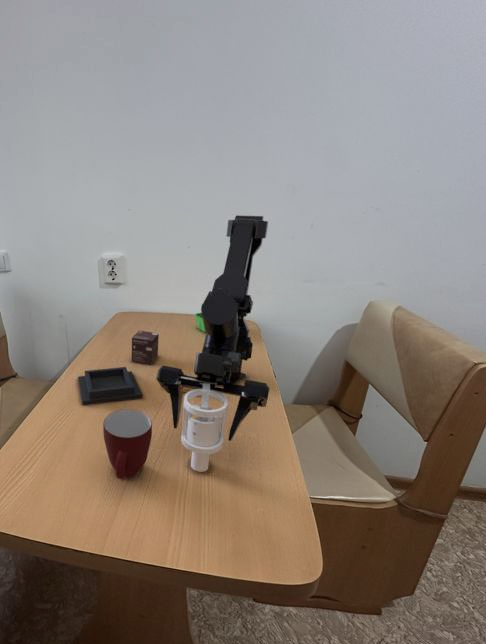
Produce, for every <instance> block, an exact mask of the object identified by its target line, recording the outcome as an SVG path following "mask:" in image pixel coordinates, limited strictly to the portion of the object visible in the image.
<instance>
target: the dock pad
mask: <svg viewBox="0 0 486 644" xmlns="http://www.w3.org/2000/svg"><path fill="white" fill-rule="evenodd" d="M77 380H78V381H77V382H78V387H79V392H80V398H81V404H82V406H85V405H93V404H102V403H113V402H120V401H121V402H122V401H130V400H137V399H143V392H142V391H141V389H140V386H139V383H138V382H137V380H136V377H135V375H134V373H133V371H132V370H129V371H128V368H127V366H121V367H111V368H109V367H108V368H101V369H100V368H99V369H89V370H84V375H80V376H79V375H78V376H77Z"/></svg>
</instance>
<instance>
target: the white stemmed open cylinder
mask: <svg viewBox="0 0 486 644" xmlns="http://www.w3.org/2000/svg"><path fill="white" fill-rule="evenodd" d="M183 396H184V397H183V408H182V411H183V412H182V422H181V423H182V425H181V439H180V440H181V443H182V445H183V446H184V448H185V449H186V450H188V451H190V452H191V459H190V460H191V461H190V467H191V469H192V470H194V471H195V472H197V473H204V472H206V471H207V470H209V464H210V455H212V454H216V453H218V452H220V451H221V450H222V448H223V446H224V441H225V440H224V438H225V430H226V423H227V416H228V415H227V414H228V406H229V400H228V398H227V396H225V394H224V393H220V392H217V391H215V390H211V389H210V384H207V383H203V389H194V390H191V391H189V392H187V393H186V392H185V394H184V395H183ZM195 397H201V400H200V401H201V403H200V404H201V405H200V404H192V403H190V402H189V400H190V399H192V398H195ZM210 398H214V399H216V400H218V401H220V402H222V406H221V407H219V408H216V409H214V408H212V407H209V403H210V402H209V401H210ZM193 416H196V418H195V417H193Z"/></svg>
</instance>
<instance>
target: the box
mask: <svg viewBox="0 0 486 644" xmlns="http://www.w3.org/2000/svg"><path fill="white" fill-rule="evenodd" d="M159 335H160V334H159V333H157V332H151V331H145V330H138V331H137V332H136V333H134V335H133V336H132V337H131V362H133V363H139V364H144V365H152V364H153V363H154V362H155V361H156V359H157V358H158V356H159V337H160V336H159Z"/></svg>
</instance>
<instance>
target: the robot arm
mask: <svg viewBox="0 0 486 644" xmlns="http://www.w3.org/2000/svg"><path fill="white" fill-rule="evenodd" d="M268 228H269V220H264V215H235V217H234V219H228V220H227V229H226V237H227V238H229V247H228V252H227V256H226V260H225V265H224V269H223V272H222V274H221V275H219V276H218V277H217V278H215V280H214V282H213V286H212V289H211V290H210V291H208V293H207V295H206V297H205V299H204V301H203V302H202V304H201V306H200V307H201V308H200V311H201V312H200V313H202V318H203V323H204V328H205V331H206V332H205V337H204V340H203V341H204V342H203V346H202V349H201V352H196V356H195V362H194V367H193V368H194V369H193V373H194V375H195V376H192V375H187V374H186V375H187V376H186V375H184V374H185V373H184V372H183V370H182V368H181V367H174V366H167V365H162V366H161V367H159V368H158V370H157V374H156V378H155V379H156V381H157V382H158V384H159V386H160V387H161V388H163V389H164V391H165V392H166V393H167V394H169V398H170V403H171V412H172V413H171V414H172V421H173V422H172V423H173V428H174V429H178V427H179V426H178V425H179V422H180V417H181V410H182V403H183V399H184V397H183V396H184V392H182V391H181V389H182V388H183V386H187V387H193V388H198V389H203V383H207V384H210V389H211V390H215V391H217V392H220V393H221V394H224V395H225V394H226V395H230V396H236V397H239V399H238V403H237V407H236V409H235V412H234V416H233V419H232V423H231V426H230V429H229V434H228V439H227V440H228V441H229V442H231V441H232V440H233V438H234V436H235V435H236V433H237V431H238V430H239V427H240V426H241V424H242V422H243V421H244V420H245V419H246V417H247V416H248V414H249V413H250V411H258V407H261V408H266V406H267V403H268V399H269V393H270V386H269V385H268V383H266V382H262V381H256V380H251V379H244V378H246V377H247V374H246V373H244V372H242V367H243V361H245V362H246V361H248V360H249V359H252V354H253V346H254V343H253V342H252V339H251V338H252V337H251V336H249V332H250V328H249V326H248V323H247V321H246V319H245V318H246V317H247V316H248V315H249V314H251V313H252V310H253V305H254V301H253V300H252V296H251V295H250V294H249V288H250V282H251V281H250V280H251V275H252V268H253V260H254V256H255V255H256V254H257V252H258V251H259V250H260V249H261V247H262V246H263V240H264V239H266V238H267V235H268V234H267V233H268ZM183 373H184V374H183ZM242 379H244V383H243V384H242V385H241V384H237V382H239V381H240V380H242Z"/></svg>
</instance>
